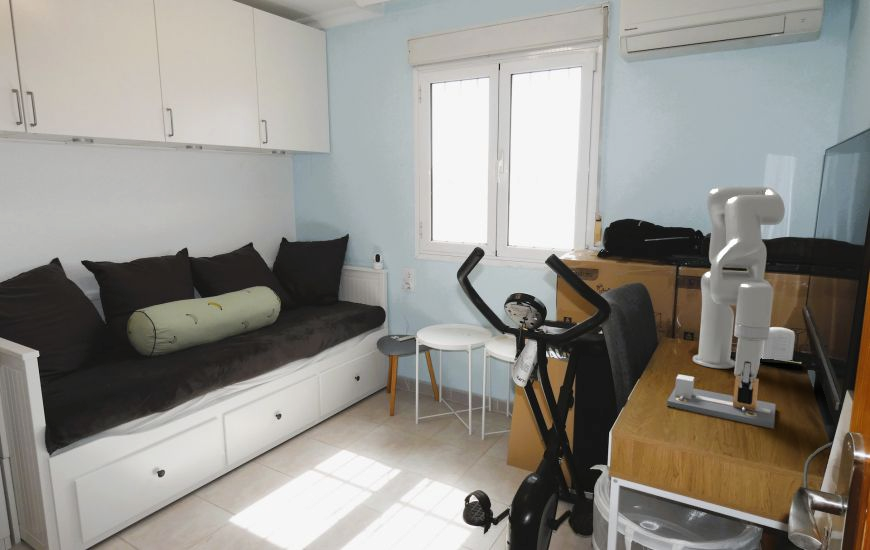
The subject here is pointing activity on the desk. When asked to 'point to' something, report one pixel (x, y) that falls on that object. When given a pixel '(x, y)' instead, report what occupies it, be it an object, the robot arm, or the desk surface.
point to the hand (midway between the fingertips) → (745, 399)
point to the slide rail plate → (718, 404)
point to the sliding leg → (754, 397)
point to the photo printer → (778, 344)
